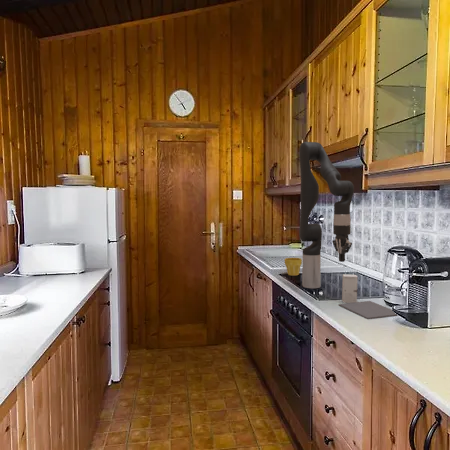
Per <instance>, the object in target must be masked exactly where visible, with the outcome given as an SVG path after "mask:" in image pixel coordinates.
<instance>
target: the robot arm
mask: <svg viewBox="0 0 450 450" xmlns="http://www.w3.org/2000/svg"><path fill="white" fill-rule="evenodd" d="M298 153H299V155H298V156H299V165H300V166H299V168H300V218H299V229H298V230H299V238H300V239H299V240H300V242H303V243H304V242H309V243H310V242H312V243H311V244H310V245H308V246H305V247H304V248H303V249H302V269H301V272H302V274H301V275H302V276H301V277H302V278H301V280H302V281H301V284H302V287H303V288H306V289H320V288H321V280H322V279H321V276H322V275H321V271H322V269H321V262H322V261H321V260H322V259H321V254H322V253H321V251H322V237H323V229H322V226H321V225H320V224H319V223H309V220H310V215H311V213H312V212H313V209H314V208H315V207H316V205H317V204H318V202H319V197H320V185H319V183H318V180H317V179H316V177H315V175H314V173H313V171H312V169H311V161H316V162H318V163H319V164H320V170H319V171H320V174H321V176H322V178H323V179H324V180H325V181H326V183H327V186H328V188H329V189H328V190H329V192H330V193H331V195H333V196H334V197H341V199H340V200H339V201H338V200H337V201H336V202H334V204H333V227H332V228H333V234H334V235H335V237H334V238H335V239H334V240H332V244H333V247H334V249H335V251H336V252H337V253H338V261H339V262H341V263H344V262H345V261H346V254H347V253H349V251H350V250H351V247H352V246H353V243H352V242H350V241H349V240H350V237H349V236H350V235H351V227H352V226H351V225H352V224H351V203H352V199H353V195H354V192H355V185H354V184H353V182H352V181H350V180H342V175H341V173H340V172H339V171H338V169H337V168H336V167H335V166H334V164H333V163H332V162H331V160H330V158H329V156H328V154H327V152H326V150H325V148H324V146H323V144H321V143H320V142H316V141H303V142H301V144H300V146H299V152H298Z"/></svg>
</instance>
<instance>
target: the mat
mask: <svg viewBox="0 0 450 450" xmlns="http://www.w3.org/2000/svg"><path fill="white" fill-rule="evenodd" d="M338 306H339V307H341V308H343V309H345V310H347V311H349V312H352V313H353V314H356V315H358V316H359V317H362V318H364V319H367V320H372V319H380V318H389V317H397V314H395V313H394V312H393V311H392V310H393V309H392V308H389V307H387V306H384V305H381V304H379V303H376V302H373V301H372V300H367V301H357V302H354V303H338Z"/></svg>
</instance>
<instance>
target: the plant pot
mask: <svg viewBox="0 0 450 450" xmlns="http://www.w3.org/2000/svg"><path fill="white" fill-rule="evenodd" d="M284 265H285V267H286V271H287V275H288V276H291V277H292V276H293V277H294V276H298V275H300V270H301V266H302V265H303V258H300V257H287V258H284Z"/></svg>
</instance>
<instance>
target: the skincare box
mask: <svg viewBox="0 0 450 450" xmlns="http://www.w3.org/2000/svg"><path fill="white" fill-rule="evenodd" d="M341 286H342V287H341V289H342V290H341V292H342V293H341V301H342V302H343V303H342V304H344V303H354V302H358V276H357V274H351V273H350V274H344V273H343V274H342V284H341Z"/></svg>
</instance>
